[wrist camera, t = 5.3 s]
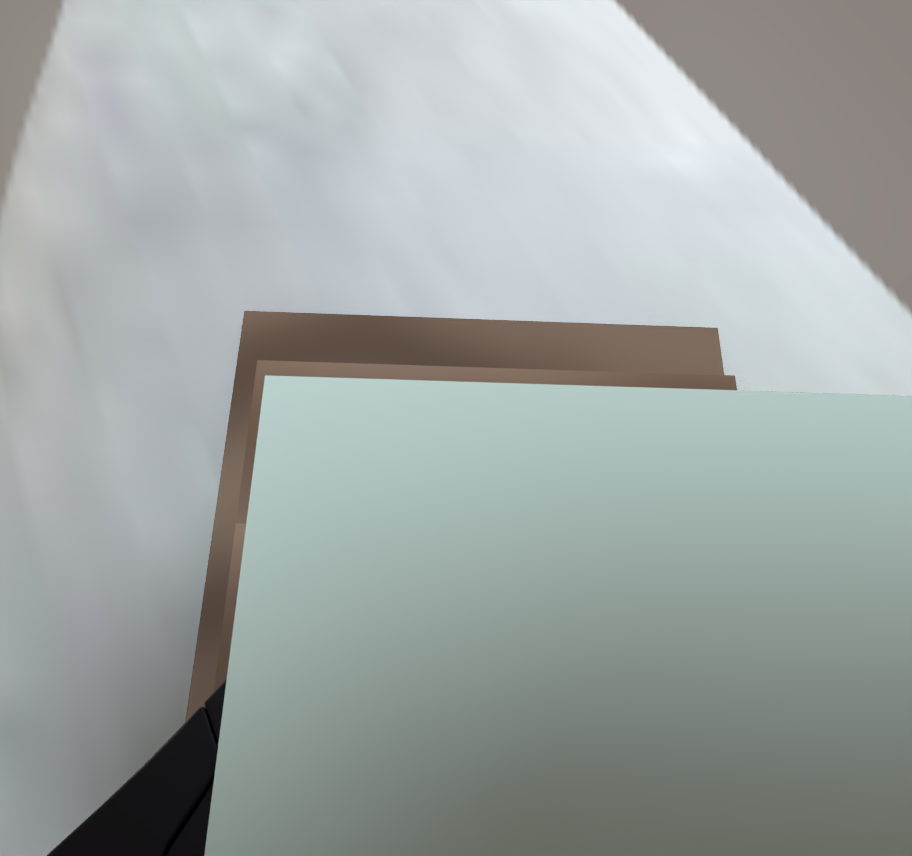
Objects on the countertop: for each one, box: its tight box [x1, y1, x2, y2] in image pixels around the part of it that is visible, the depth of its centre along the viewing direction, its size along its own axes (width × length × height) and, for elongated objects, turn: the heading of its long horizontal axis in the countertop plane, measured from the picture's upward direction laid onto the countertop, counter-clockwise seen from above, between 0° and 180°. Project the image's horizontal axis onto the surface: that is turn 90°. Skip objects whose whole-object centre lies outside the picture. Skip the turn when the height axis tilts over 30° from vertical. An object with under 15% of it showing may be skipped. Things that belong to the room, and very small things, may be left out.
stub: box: [204, 375, 912, 856], centre depth 8 cm, size 4×5×12 cm
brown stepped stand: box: [185, 311, 737, 722], centre depth 14 cm, size 20×16×5 cm
